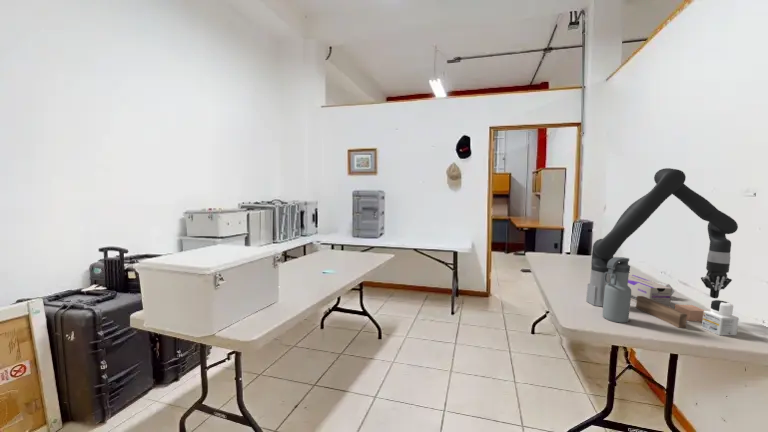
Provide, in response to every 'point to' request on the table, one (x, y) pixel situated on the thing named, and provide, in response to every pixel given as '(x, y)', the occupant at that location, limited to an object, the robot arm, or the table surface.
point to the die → (667, 286)
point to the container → (720, 319)
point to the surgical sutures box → (649, 290)
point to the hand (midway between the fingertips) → (714, 297)
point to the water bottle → (617, 291)
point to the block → (691, 312)
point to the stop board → (662, 311)
